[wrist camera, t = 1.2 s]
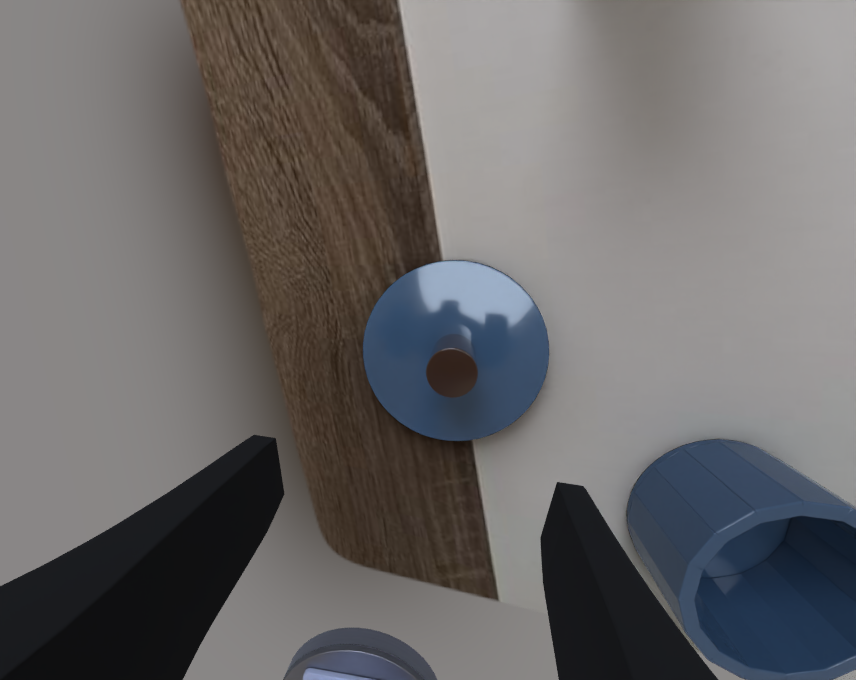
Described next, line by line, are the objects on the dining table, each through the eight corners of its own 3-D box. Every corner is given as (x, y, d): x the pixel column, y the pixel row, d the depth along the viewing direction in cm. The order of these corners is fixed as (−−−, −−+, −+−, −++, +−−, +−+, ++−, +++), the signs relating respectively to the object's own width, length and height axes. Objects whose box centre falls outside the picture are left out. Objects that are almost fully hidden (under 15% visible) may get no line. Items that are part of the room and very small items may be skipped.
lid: (530, 443, 23) (546, 488, 18) (362, 421, 23) (338, 459, 19) (559, 269, 21) (585, 272, 16) (373, 251, 21) (348, 248, 17)
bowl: (771, 592, 23) (873, 702, 17) (612, 568, 24) (659, 666, 18) (819, 450, 21) (952, 521, 15) (644, 428, 22) (709, 488, 16)
